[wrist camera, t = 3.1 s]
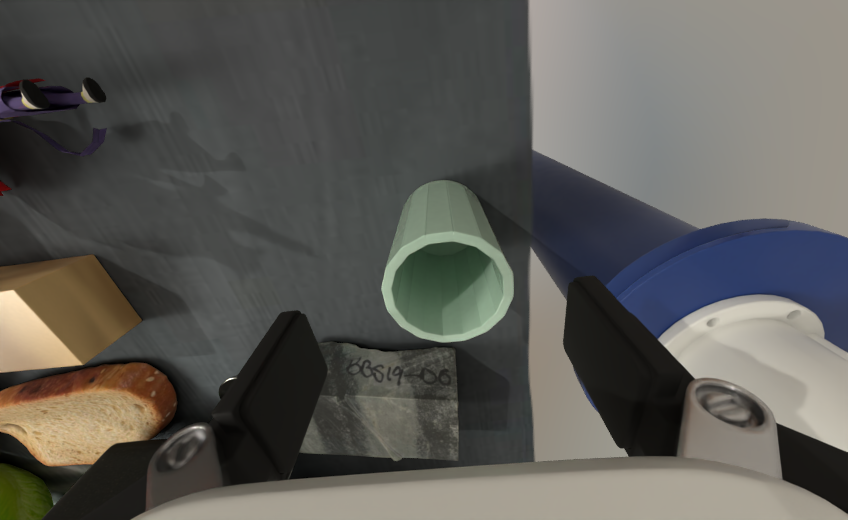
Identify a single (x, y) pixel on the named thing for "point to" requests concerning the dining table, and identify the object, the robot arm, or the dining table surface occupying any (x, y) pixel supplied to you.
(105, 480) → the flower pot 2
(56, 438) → the slice of bread
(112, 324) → the maple block
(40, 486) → the lettuce
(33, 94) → the figurine
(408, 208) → the cup
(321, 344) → the stone block
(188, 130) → the dining table surface
